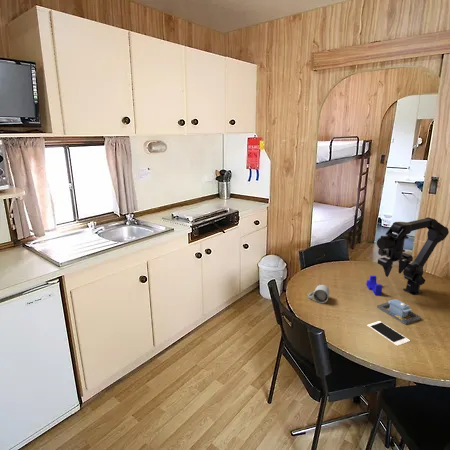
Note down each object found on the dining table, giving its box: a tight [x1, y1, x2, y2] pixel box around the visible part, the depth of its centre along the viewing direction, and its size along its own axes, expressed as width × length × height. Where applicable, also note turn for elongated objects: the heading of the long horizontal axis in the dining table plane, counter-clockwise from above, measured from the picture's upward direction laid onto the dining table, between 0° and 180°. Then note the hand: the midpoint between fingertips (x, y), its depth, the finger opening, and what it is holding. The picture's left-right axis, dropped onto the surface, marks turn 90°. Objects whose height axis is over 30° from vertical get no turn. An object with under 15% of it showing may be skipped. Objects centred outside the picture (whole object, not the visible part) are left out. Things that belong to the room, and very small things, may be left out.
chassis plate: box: [376, 301, 422, 326], centre depth 154 cm, size 10×16×1 cm, turn 23°
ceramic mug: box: [307, 284, 330, 304], centre depth 168 cm, size 11×8×8 cm
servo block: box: [387, 298, 413, 319], centre depth 153 cm, size 4×10×6 cm, turn 23°
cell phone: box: [367, 320, 411, 347], centre depth 140 cm, size 8×16×1 cm, turn 23°
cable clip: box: [366, 275, 383, 296], centre depth 176 cm, size 12×4×6 cm, turn 171°
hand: (393, 274), depth 167 cm, fingers open, 9 cm apart
